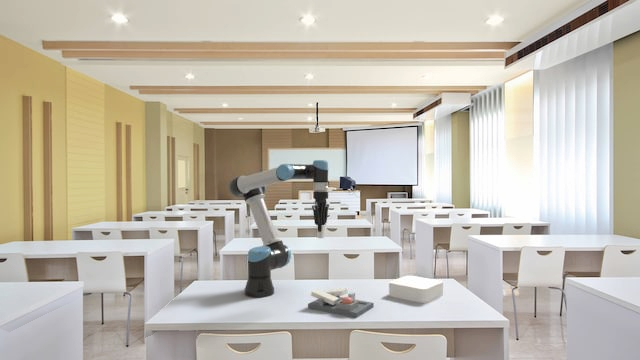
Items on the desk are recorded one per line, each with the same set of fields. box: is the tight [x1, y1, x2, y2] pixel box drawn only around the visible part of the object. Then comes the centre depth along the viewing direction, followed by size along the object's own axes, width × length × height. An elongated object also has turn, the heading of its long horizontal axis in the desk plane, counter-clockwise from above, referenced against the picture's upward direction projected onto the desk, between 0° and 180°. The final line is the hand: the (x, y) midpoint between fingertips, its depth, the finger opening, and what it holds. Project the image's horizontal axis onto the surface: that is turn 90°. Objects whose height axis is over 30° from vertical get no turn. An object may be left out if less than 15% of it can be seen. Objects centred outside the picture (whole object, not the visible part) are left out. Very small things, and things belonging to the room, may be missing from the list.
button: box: [342, 296, 352, 304], centre depth 189 cm, size 5×5×4 cm
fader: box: [347, 292, 356, 300], centre depth 198 cm, size 2×3×3 cm, turn 148°
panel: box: [307, 294, 375, 319], centre depth 195 cm, size 25×17×5 cm
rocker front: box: [310, 288, 339, 305], centre depth 195 cm, size 12×5×2 cm, turn 58°
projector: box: [388, 275, 444, 304], centre depth 216 cm, size 21×22×7 cm
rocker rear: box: [322, 288, 349, 297], centre depth 201 cm, size 12×5×2 cm, turn 58°
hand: (320, 237), depth 213 cm, fingers closed
